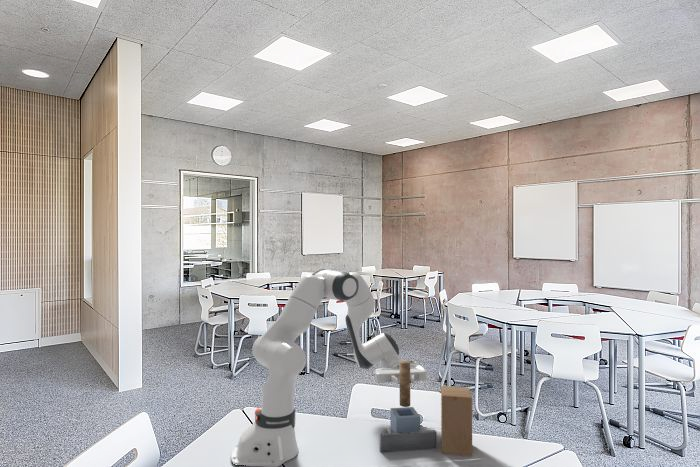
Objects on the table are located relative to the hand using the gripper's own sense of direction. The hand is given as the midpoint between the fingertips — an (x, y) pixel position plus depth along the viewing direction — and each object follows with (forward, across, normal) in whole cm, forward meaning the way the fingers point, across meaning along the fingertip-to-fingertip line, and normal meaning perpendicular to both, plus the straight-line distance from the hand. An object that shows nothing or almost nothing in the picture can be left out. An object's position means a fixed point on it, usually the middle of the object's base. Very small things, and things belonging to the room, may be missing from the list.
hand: (405, 381), depth 152 cm
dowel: (-1, 0, +9) cm, 9 cm away
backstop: (+3, -2, +20) cm, 21 cm away
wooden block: (+12, +15, +20) cm, 28 cm away
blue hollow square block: (-1, 0, +20) cm, 20 cm away
